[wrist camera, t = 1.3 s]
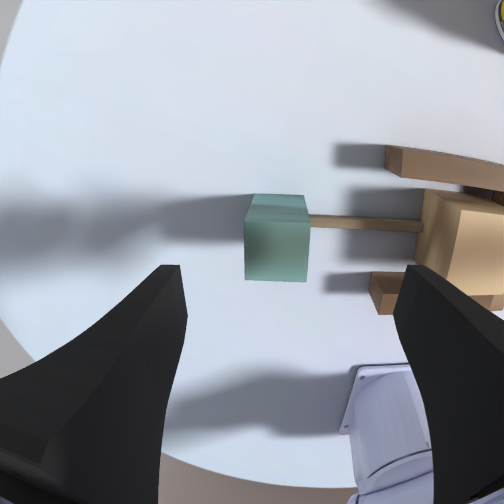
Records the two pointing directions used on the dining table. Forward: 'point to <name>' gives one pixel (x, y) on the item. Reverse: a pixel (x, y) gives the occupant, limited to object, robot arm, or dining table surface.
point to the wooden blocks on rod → (429, 230)
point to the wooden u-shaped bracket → (439, 170)
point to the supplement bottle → (500, 17)
